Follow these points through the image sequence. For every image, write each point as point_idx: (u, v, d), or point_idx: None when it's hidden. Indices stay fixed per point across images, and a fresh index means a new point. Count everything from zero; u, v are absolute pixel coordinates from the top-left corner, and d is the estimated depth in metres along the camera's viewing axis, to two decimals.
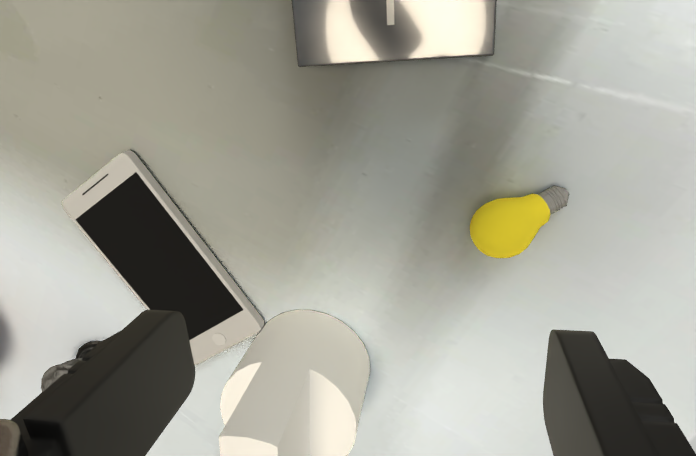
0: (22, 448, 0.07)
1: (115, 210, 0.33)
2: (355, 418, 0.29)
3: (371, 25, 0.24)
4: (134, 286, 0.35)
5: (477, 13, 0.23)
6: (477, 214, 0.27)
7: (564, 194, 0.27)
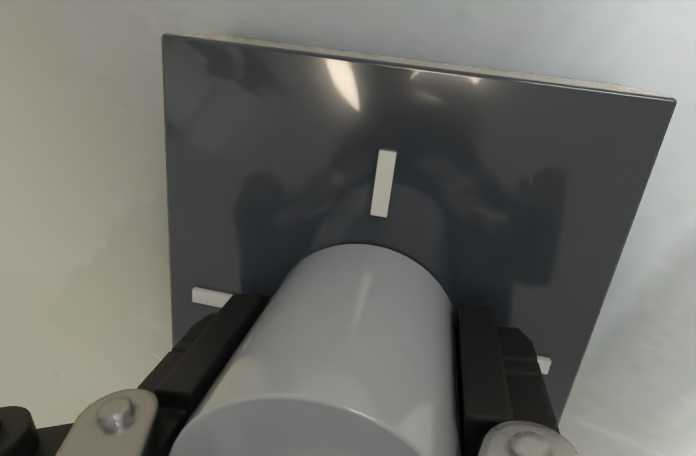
0: (161, 415, 0.07)
1: None
2: None
3: None
4: None
5: None
6: None
7: None
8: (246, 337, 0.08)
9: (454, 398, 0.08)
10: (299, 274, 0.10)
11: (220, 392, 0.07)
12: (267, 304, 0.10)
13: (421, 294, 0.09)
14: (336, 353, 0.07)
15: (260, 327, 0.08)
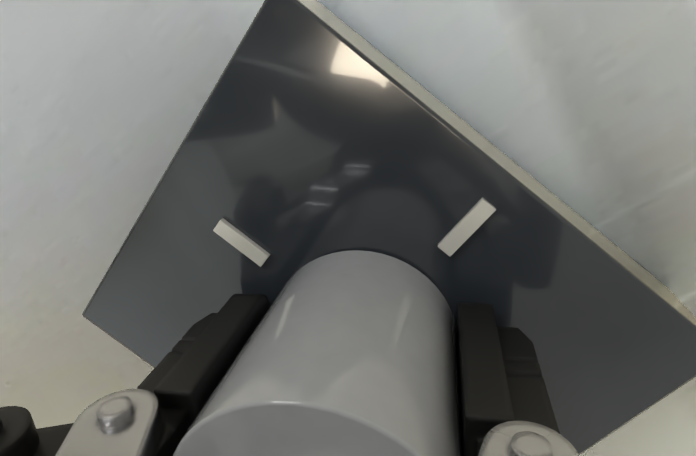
0: (160, 415, 0.07)
1: None
2: None
3: None
4: None
5: (629, 324, 0.10)
6: None
7: None
8: (254, 338, 0.08)
9: (457, 413, 0.08)
10: (307, 277, 0.10)
11: (232, 395, 0.07)
12: (273, 305, 0.10)
13: (427, 306, 0.09)
14: (348, 363, 0.07)
15: (269, 329, 0.08)
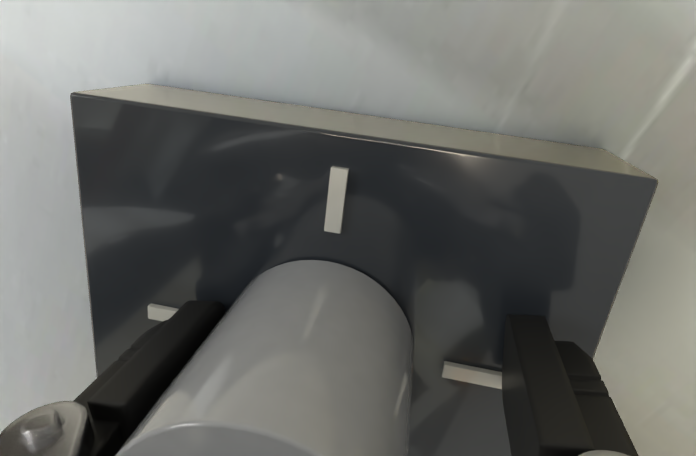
0: (90, 428, 0.07)
1: None
2: None
3: (493, 411, 0.11)
4: None
5: (542, 205, 0.09)
6: None
7: None
8: (199, 351, 0.08)
9: (403, 430, 0.08)
10: (260, 287, 0.10)
11: (166, 413, 0.06)
12: (224, 316, 0.09)
13: (381, 319, 0.09)
14: (288, 381, 0.07)
15: (214, 343, 0.08)
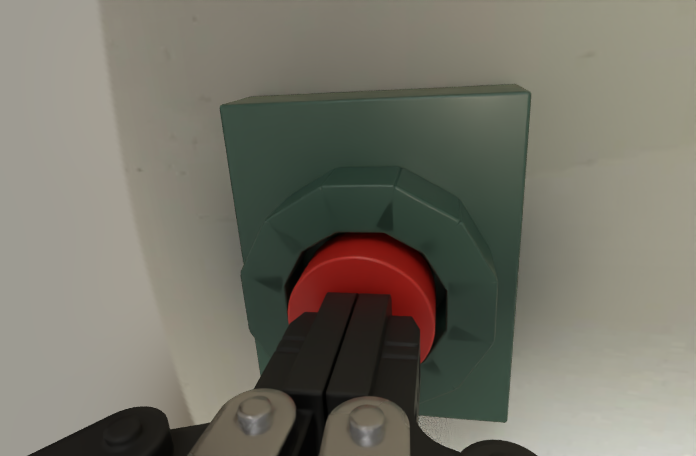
0: (296, 417, 0.07)
1: None
2: None
3: None
4: None
5: None
6: None
7: None
8: None
9: None
10: None
11: None
12: None
13: None
14: None
15: None
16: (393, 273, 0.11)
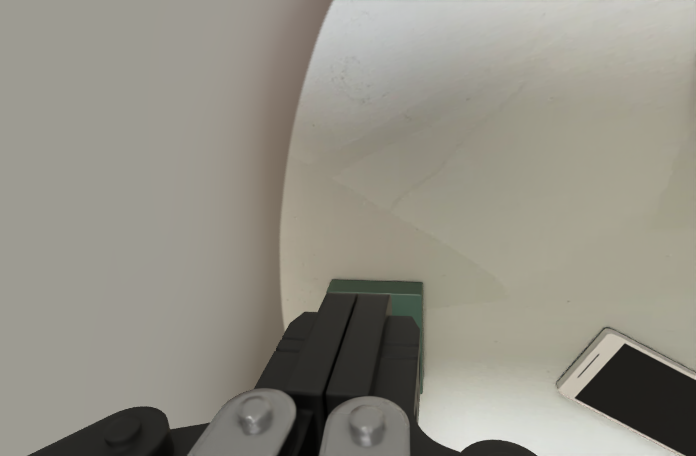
0: (296, 417, 0.07)
1: (610, 378, 0.39)
2: None
3: None
4: (640, 429, 0.41)
5: None
6: None
7: None
8: None
9: None
10: None
11: None
12: None
13: None
14: None
15: None
16: None
